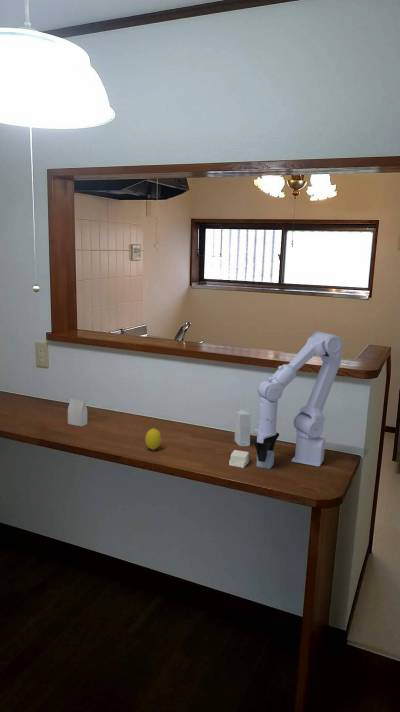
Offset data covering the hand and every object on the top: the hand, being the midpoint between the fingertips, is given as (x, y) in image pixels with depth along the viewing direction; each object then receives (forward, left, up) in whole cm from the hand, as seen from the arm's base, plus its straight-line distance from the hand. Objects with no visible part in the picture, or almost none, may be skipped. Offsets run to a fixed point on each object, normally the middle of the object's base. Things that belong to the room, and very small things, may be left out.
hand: (265, 457), depth 169 cm
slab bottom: (+8, +3, -3) cm, 9 cm away
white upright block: (+80, -5, -3) cm, 80 cm away
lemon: (+39, +6, -3) cm, 39 cm away
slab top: (+8, +3, -1) cm, 9 cm away
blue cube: (0, 0, -3) cm, 3 cm away
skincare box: (+14, -16, -3) cm, 21 cm away
